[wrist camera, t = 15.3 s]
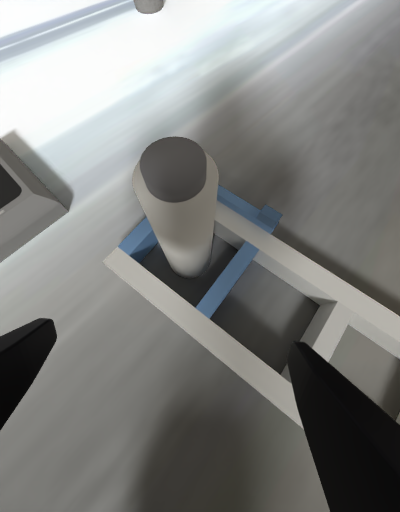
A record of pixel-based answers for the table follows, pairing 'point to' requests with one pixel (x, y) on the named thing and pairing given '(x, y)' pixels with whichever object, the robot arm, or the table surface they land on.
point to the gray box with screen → (22, 204)
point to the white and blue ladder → (250, 248)
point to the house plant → (148, 6)
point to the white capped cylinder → (179, 201)
